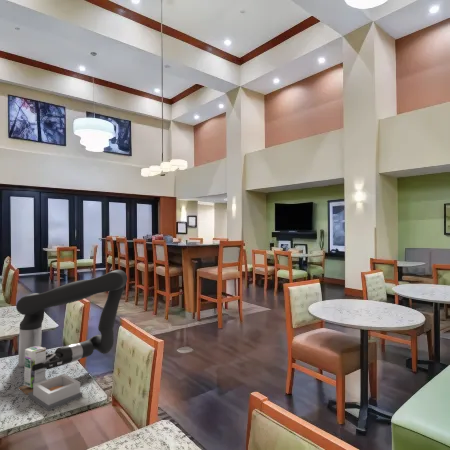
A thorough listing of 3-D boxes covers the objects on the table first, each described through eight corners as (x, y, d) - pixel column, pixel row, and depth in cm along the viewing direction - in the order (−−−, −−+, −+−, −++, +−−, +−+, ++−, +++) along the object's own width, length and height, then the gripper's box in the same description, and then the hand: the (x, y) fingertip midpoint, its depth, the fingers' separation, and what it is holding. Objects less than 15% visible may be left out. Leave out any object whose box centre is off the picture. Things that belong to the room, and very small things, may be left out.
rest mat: (18, 389, 133) (18, 387, 133) (39, 382, 139) (39, 380, 139) (27, 395, 128) (27, 393, 128) (48, 387, 134) (48, 386, 134)
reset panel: (27, 396, 127) (28, 382, 127) (61, 384, 137) (61, 371, 137) (48, 410, 117) (48, 395, 117) (82, 396, 128) (82, 382, 128)
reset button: (44, 396, 126) (45, 389, 126) (60, 390, 131) (60, 384, 131) (52, 401, 122) (52, 394, 122) (68, 395, 127) (68, 388, 127)
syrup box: (23, 385, 133) (23, 349, 133) (37, 379, 138) (38, 344, 138) (31, 388, 130) (32, 351, 130) (46, 382, 135) (46, 347, 135)
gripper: (60, 341, 150) (20, 352, 136) (78, 349, 141) (36, 361, 128) (60, 358, 149) (20, 370, 136) (77, 366, 141) (36, 380, 127)
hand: (28, 366), depth 132 cm, fingers closed on syrup box, 6 cm apart
